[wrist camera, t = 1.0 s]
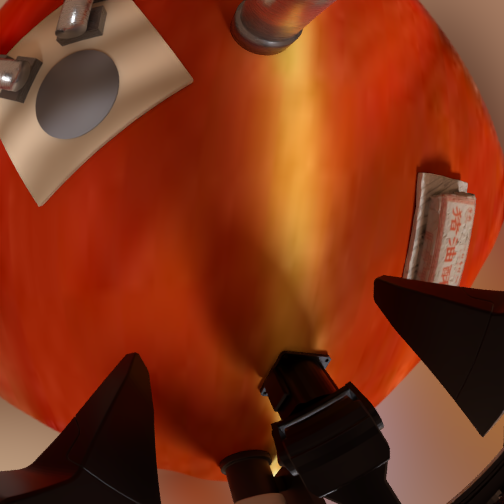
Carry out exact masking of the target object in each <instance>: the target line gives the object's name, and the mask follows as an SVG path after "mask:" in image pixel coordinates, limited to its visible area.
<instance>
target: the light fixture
mask: <svg viewBox="0 0 504 504" xmlns="http://www.w3.org/2000/svg"><path fill="white" fill-rule="evenodd" d="M271 463H272V460H271V457H270V455H269V453H267V452H265V451H260V450H251V451H244V452H239V453H236V454H233V455H230V456H228V457H226V458H225V459H223V460H222V461H221V463H220V469H221V472H222V473H223V474H225V475H226V476H227V480H228V483H229V487H230V491H231V494H232V498H233V502H234V504H326V502H325V500H324V499H323V497H317V496H316V495H314V494H312V493H310V492H309V491H308V489H307V488H306V487H305V485H304V483H303V482H302V480H301V478H300V476H299V475H296V476H293V475H292V474H291V473H290V472H289V471H288V470H287V469H286V468H285V467H281V469H280V470H279V471H278V473H277V474H276V475H275V476H274V477H273V474H272V471H271V469H270V464H271Z"/></svg>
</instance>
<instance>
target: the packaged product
mask: <svg viewBox="0 0 504 504" xmlns="http://www.w3.org/2000/svg"><path fill="white" fill-rule="evenodd" d="M467 186H468V184H467V183H466V182H463V181H460V180H456V179H451V178H448V177H445V176H441V175H436V174H432V173H418V180H417V195H416V210H415V214H414V220H413V227H412V233H411V238H410V244H409V249H408V254H407V258H406V262H405V268H404V273H403V278H406V279H413V280H419V281H426V282H433V283H439V284H446V285H453V286H459V284H460V280H461V276H462V272H463V269H464V265H465V261H466V257H467V251H468V247H469V243H470V237H471V232H472V226H473V219H474V214H475V206H476V198H475V195H474V194H471V193H467Z"/></svg>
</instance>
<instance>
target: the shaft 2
mask: <svg viewBox="0 0 504 504" xmlns="http://www.w3.org/2000/svg"><path fill="white" fill-rule="evenodd" d="M102 1H106V0H64V3H63V6H62V9H61V13H60V16H59V20H58V23H57V27H56V31H55V35H56V36H57V39H56V41H57V42H58V43H59V44H60V45H61V46H65V45H68V44H72V43H75V42H78V41H82V40H86V39H90V38H94V37H98V36H102V35H103V31H104V25H105V20H106V15H107V12H106V10H105V8H104V6H103V5H102V6H98V7H94V8H91V7H92V4H94V3H98V2H102Z"/></svg>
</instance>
